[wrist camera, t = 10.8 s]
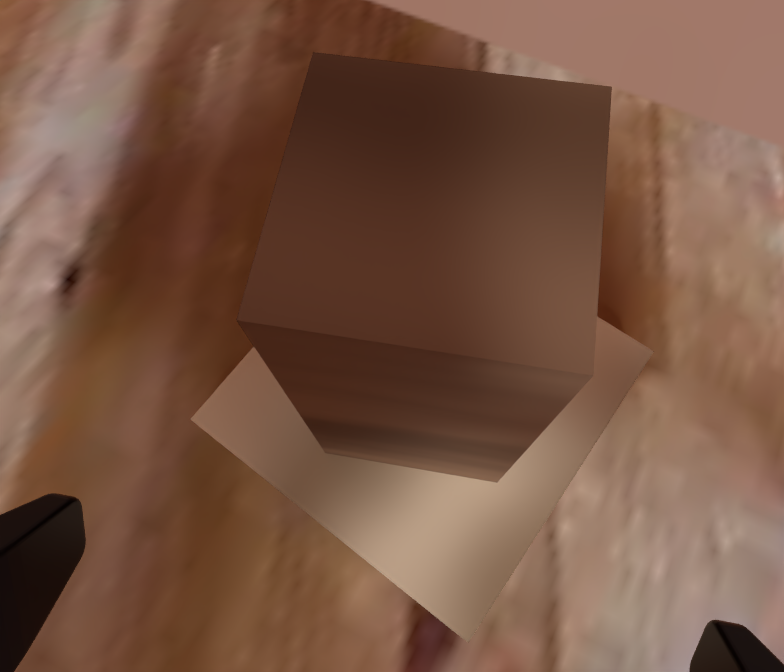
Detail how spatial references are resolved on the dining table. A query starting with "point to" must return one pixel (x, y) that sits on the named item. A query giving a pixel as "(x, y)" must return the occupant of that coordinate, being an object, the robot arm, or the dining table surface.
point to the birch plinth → (423, 484)
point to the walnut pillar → (432, 261)
